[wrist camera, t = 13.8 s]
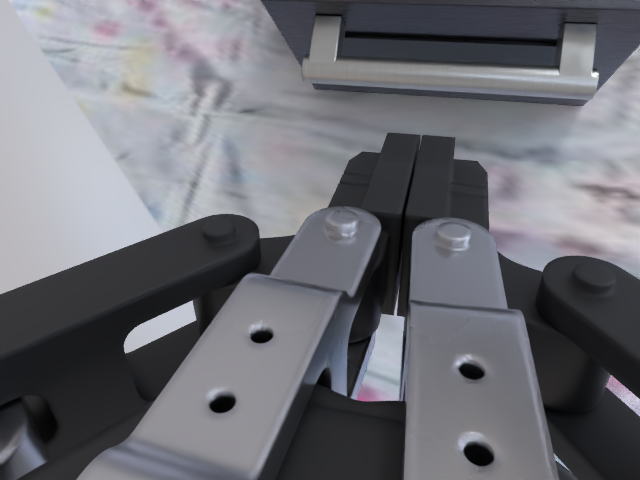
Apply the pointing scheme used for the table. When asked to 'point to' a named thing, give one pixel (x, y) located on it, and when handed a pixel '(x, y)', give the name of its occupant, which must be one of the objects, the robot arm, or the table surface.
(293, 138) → the table surface
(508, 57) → the oven door
